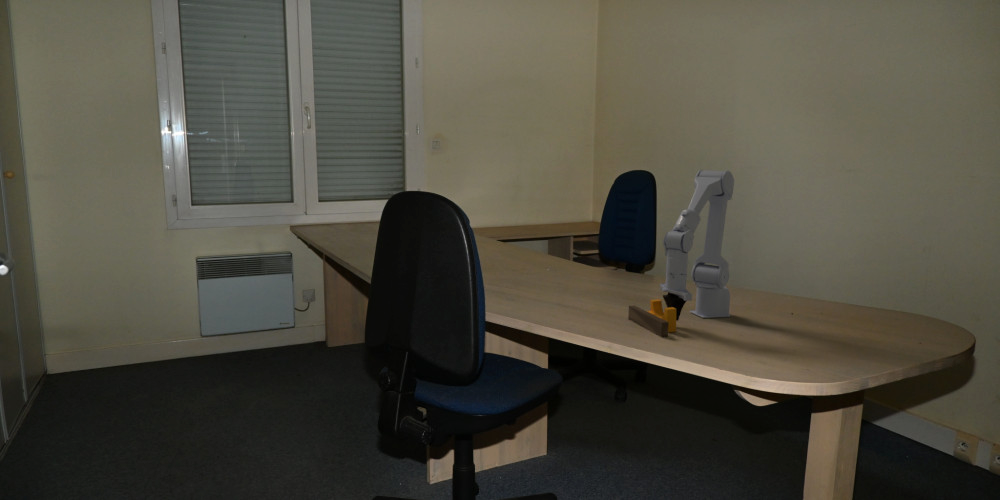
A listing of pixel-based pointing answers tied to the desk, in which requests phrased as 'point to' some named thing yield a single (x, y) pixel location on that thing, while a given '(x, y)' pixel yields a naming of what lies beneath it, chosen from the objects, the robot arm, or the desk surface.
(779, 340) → the desk surface
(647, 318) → the rail
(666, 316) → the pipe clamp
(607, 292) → the desk surface
